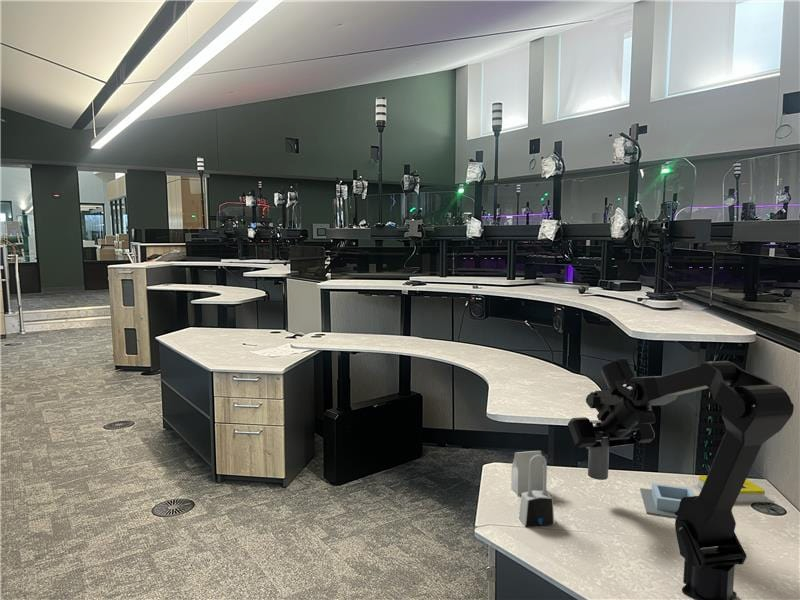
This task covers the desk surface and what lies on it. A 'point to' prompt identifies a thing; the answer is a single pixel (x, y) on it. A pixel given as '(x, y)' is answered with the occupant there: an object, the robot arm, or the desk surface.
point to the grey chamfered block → (526, 472)
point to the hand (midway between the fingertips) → (595, 446)
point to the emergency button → (742, 491)
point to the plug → (599, 459)
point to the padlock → (536, 502)
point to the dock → (664, 499)
